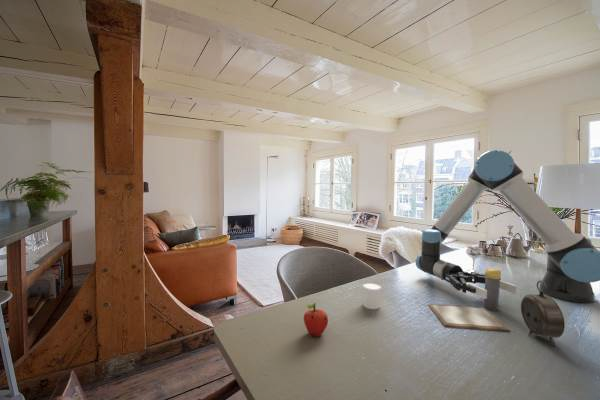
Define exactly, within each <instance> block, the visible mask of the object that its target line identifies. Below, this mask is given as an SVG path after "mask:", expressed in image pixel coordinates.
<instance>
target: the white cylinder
mask: <svg viewBox="0 0 600 400" xmlns="http://www.w3.org/2000/svg"><path fill="white" fill-rule="evenodd" d="M382 287H383V286H382V285H380V284H377V283H374V282H365V283H362V284H361V291H362V293H361V294H362V295H361V296H362V305H363V307H364V308H365V309H369V310H377V309H379V308H380V305H381V299H382Z"/></svg>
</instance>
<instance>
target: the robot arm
mask: <svg viewBox="0 0 600 400" xmlns="http://www.w3.org/2000/svg"><path fill="white" fill-rule="evenodd" d="M523 175H524V171H523V170H522V169H521V168H520V167H519V165H517V164H516V163H515V161H514V159H513V156H512V155H510V154H509V153H508V152H507V151H503V150H501V149H492V150H491V149H490V150H487V151H486V152H483V153H482V154H481V155H480V156H478V157H477V158H476V160H475V163H474V168H473V170H472V171H471V173H470V174H469V176H468V177H467V179H468V180H467V183H465V185H464V186H463V187H462V188H461V190H460V191H459V192H458V194H457V195H456V196H455V198H454V199H453V200H452V202H451V203H450V204H449V205H448V206H447V208H446V209H445V211H444V212H443V213H442V214H441V216H440V217H439V218H438V219H437V220H436V222H435V223H434V224H433V226H432V227H431V228H430V229H423V230H422V231H421V232H422V233H421V254H418V255H417V257H416V259H415V266H416V267H417V269H419V270H420V271H422V272H423V273H426V274H429V275H431V276H433V277H435V278H439V279H440V280H441V281H445V282H447V283H449V284H450V285H451V286H452V287H453V288H454V289H456V290H457V291H459V292H460V291H462V293H465V294H466V293H467V292H468V293H470V294H473V295H475V296H478V297H480V298H483V299H484V298H485V299H487V290H485V288H482V287H480V286H477V285H476V284H477V283H478V284H484V285H485V278H486V277H485V273H484V274H482V273H480V272H479V273H475V272H472V271H471V272H468V271H464V270H463V268H462V267H461V266H459V265H457V264H454V263H451V262H449V261H445V260H443V259H441V247H442V244H443V243H444V241H445V240H446V239H447V237H448V236H449V235H450V233H452V231H454V229H455V227H456V226H458V224H459V223H460V222H461V220H462V219H463V218H464V217H465V215H467V213H468V212H469V211H470V209H471V208H472V207H473V206H474V205H475V204H476V202H478V200H479V199H480V198H481V196H482V195H483V194H484V193H485V191H487V190H491V191H493V192H498V193H499V194H500V195H501V196H502V197H503V199H505V201H507V202H508V204H509V205H510V206H511V207H512V209H513V210H514V211H515V212H516V213H517V214H518V216H520V218H521V219H522V220H523V221H524V222H525V224H527V225H528V227H529V228H530V229H531V230H532V232H534V233H535V234H536V235H537V236H538V238H539V239H540V240H541V241H542V242H543V243H544V245H545V247H544V252H545V253H546V254H547V257H546V261H547V262H546V272H545V274H544V276H543V278H542V279H541V281H543V282H545V284H546V286H547V290H546V292H545V293H544V295H548V296H549V297H553V298H557V299H560V300H563V301H569V302H575V303H580V304H581V303H584V304H591V303H594V302H595V299H596V298H595V297H596V295H595V293H594V290H593V286H592V285H591V283H596V282H599V281H600V250H598V249H597V248H596V247H595V246H594V245H593V243H592V240H591V239H590V238H586V237H585V235H583V234H581V233H576V232H573V230H572V229H571V228H570V227H568V225H567V224H566V223H565V222H564V221H563V220H562V219H561V218H560V217H559V216H558V215H557V213H555V211H554V210H553V209H552V208H551V207H550V206H549V205H548V204H547V203H546V202H545V201H544V200H543V198H542V197H541V196H540V195H539V194H538V193H537V192H536V191H535V190H534V189H533V188H532V187H531V186H530V185H529V184H528V183H527V181H525V179H524V178H523ZM543 282H539V290H542V291H545V285H544V283H543ZM499 290H503V291H506V292H509V293H511V294H514V295H516V294H517V292H518V286H517V285H515V284H512V283H509V282H506V281H503V280H501V277H500V288H499Z"/></svg>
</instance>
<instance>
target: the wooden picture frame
mask: <svg viewBox="0 0 600 400" xmlns="http://www.w3.org/2000/svg"><path fill="white" fill-rule="evenodd" d="M427 305H428V307H429V308H430V310H431V311H432V313H433V314H434V315H435V316H436V318H437V319H438V320H439V321H440V323H441V324H442V326H443V327H446V328H456V329H457V328H461V329H472V330H473V329H474V330H484V331H486V330H487V331H495V332H497V331H498V332H511V329H510V328H509V327H508V326H507V325H505V324H504V323H503V322H502V321H500V320H499V319H498V318H497V317H496V316H494V315H493V314H492V313H491V312H490V311H488V309H486V308H484V306H483V307H482V306H481V307H480V306H467V305H452V304H436V303H428V304H427Z"/></svg>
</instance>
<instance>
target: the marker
mask: <svg viewBox="0 0 600 400" xmlns="http://www.w3.org/2000/svg"><path fill="white" fill-rule="evenodd" d="M484 272H485V273H484V275H485V277H486V278H485V284H484V289H485V290H487V299H485V298H483V299H484V300H483V301H484V303H483V307H484V308H485V309H486V310H487V311H488V310H489V311H491V312H498V311H499V307H500V306H499V304H500V302H499V301H500V278H501V277H502V276H501V274H502V273H501V272H502V271H501V270H500V269H496V268H493V267H492V268H491V267H490V268H489V267H487V268H485V271H484Z"/></svg>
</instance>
